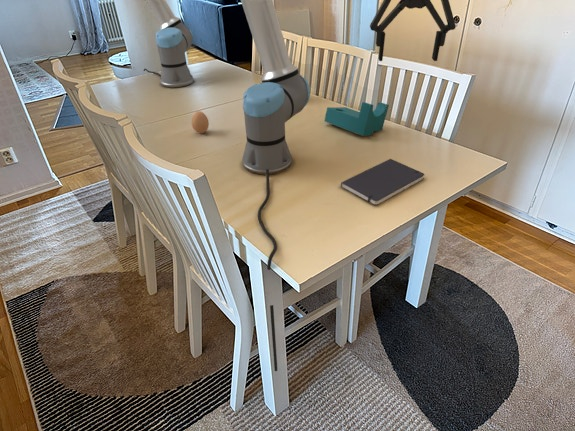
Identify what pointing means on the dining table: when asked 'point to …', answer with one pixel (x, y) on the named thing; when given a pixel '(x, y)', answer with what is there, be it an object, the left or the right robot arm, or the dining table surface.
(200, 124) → the egg
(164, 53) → the left robot arm
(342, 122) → the teal l-shaped bracket
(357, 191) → the notebook
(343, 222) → the dining table surface
